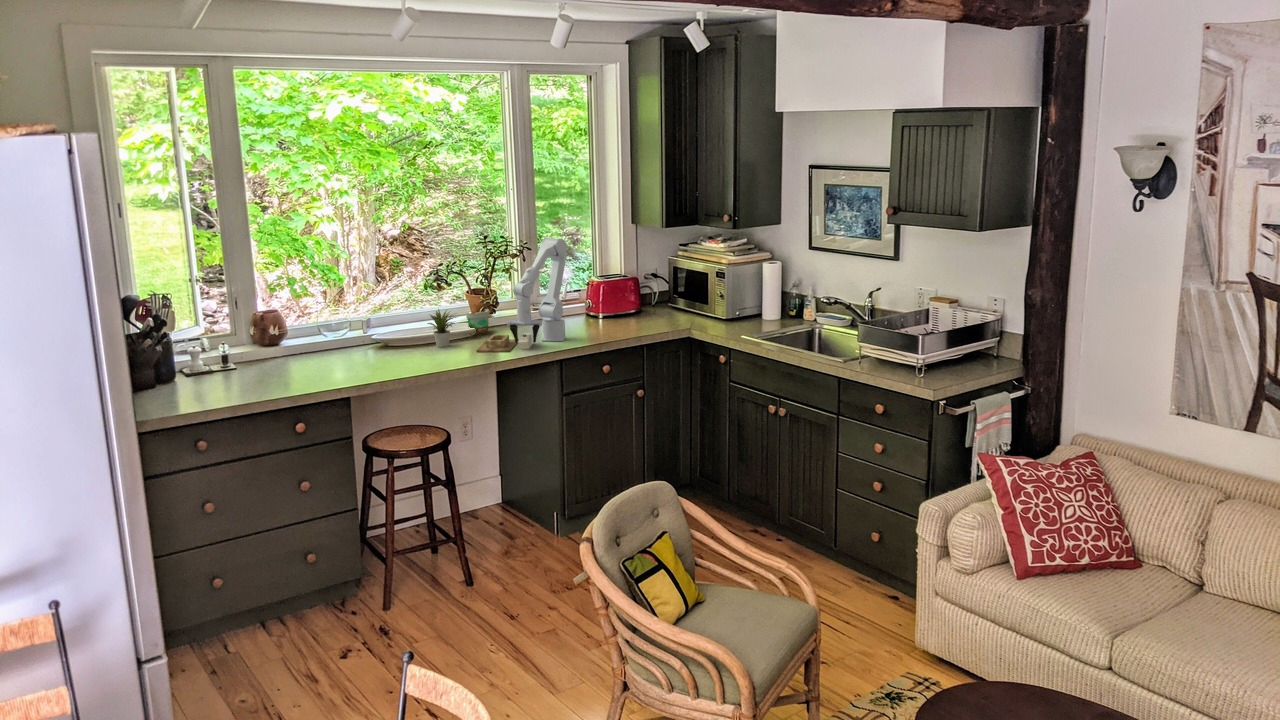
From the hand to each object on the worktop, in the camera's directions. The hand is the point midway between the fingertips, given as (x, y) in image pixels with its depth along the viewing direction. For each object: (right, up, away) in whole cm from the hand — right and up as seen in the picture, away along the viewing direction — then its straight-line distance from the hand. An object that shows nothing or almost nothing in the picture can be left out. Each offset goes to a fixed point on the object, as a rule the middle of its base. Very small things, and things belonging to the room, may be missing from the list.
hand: (525, 342), depth 426 cm
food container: (-23, +4, +27) cm, 35 cm away
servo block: (0, -2, 0) cm, 2 cm away
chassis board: (-12, -2, +1) cm, 12 cm away
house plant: (-36, -2, +4) cm, 36 cm away
